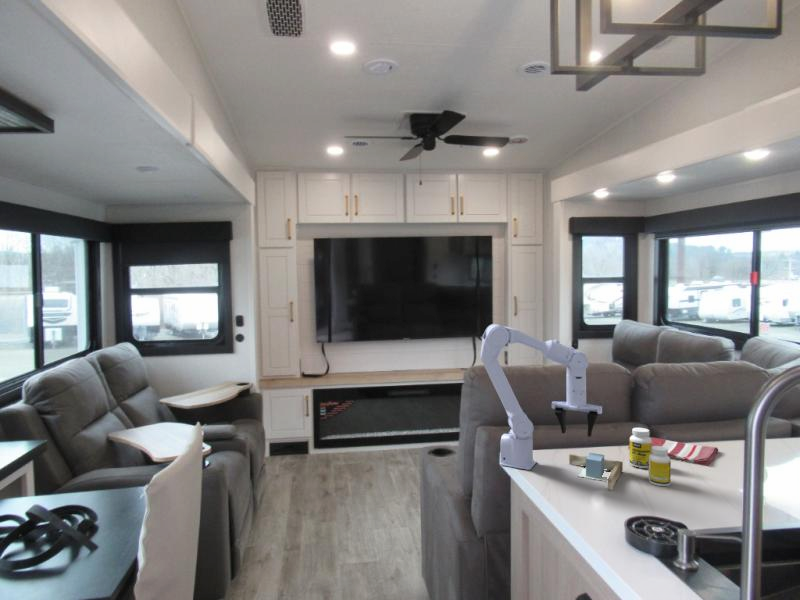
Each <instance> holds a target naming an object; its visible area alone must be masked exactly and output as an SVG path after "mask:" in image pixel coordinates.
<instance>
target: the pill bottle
mask: <svg viewBox="0 0 800 600" xmlns="http://www.w3.org/2000/svg"><path fill="white" fill-rule="evenodd" d="M631 434H632V435H630V437H629V446H630V451H629V464H631V465H632V467H633V466H635V467H634V468H636V467H639V468H638V469H641V468H648V469H649V455H651V454H652V439H651V438H650V437H651V436H650V430H649V429H648V428H644V427H633V428H632V431H631ZM631 465H630V466H631Z"/></svg>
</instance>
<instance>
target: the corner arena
mask: <svg viewBox="0 0 800 600" xmlns="http://www.w3.org/2000/svg"><path fill="white" fill-rule="evenodd" d="M587 456H588V455H587ZM587 456H586V455H581V454H580V455H579V454H576V453H575V454H574V453H569V455H568V458H569V459H568V460H569V465H570V464H575V465H574V466H576V465H583V466H586V458H587ZM623 465H624V463H623V461H619V460H615V459H613V460H612V459H608V458H607V459H606V458H604V469H607V470H612V471H610V472H611V474H610V476H609V478H608V479H607V477H601V479H600V478H594V477H588V476H586V469H583V468H582V470H581V471H580V472H579V474H578V476H579V477H578V478H582V477H584V478H583V479H588V478H589V480H594V479H596V480H595V481H599V480H602V481H601V482H605V481H608V482H607V491H609V490H610V491H609V492H612V491H613V489H614V488H613V487H615V485H616V483H617V481H616V480H618V479H619V477H618V475H619V476H620V474H621V473H620V472H622V471H623V469H624V468H623ZM607 470H606V471H607ZM619 473H620V474H619ZM622 473H623V472H622ZM590 478H591V479H590ZM617 478H618V479H617Z"/></svg>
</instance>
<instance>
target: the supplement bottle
mask: <svg viewBox="0 0 800 600" xmlns="http://www.w3.org/2000/svg"><path fill="white" fill-rule="evenodd" d="M652 453H653V454H651V455H649V468H648V482H649V483H650V484H652V485H653V486H659V487H669V486H670V485H671V482H672V481H671V480H672V479H671V477H672V476H671V472H672V471H671V465H672V464H671V462H672V461H671V460H672V459H670V458H669V457H668V456H667V454H668V449H667V448H666V447H662V446H653V447H652Z"/></svg>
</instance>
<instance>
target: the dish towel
mask: <svg viewBox="0 0 800 600" xmlns="http://www.w3.org/2000/svg"><path fill="white" fill-rule="evenodd" d="M649 437H650V438H651V439H652V447H653V446H662V447H666V448H667V449H668V454H667V456H668V457H669V458H670V460H673V459H675V460H674V461H678V460H681V461H680V462H683V461H685V462H684V463H689V464H695V465H700V466H705V467H708V466H709V464H710V463H711V462H712V461H713V460H714V459H715V457H716V455H718V454H719V448H718V447H716V446H704V445H703V446H702V445H698V444H697V445H696V444H690V443H684V442H679V441H674V440H673V441H672V440H668V439H664V438H659V437H652V436H649ZM627 450H630V445H628V448H627ZM652 454H653V453H652Z"/></svg>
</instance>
